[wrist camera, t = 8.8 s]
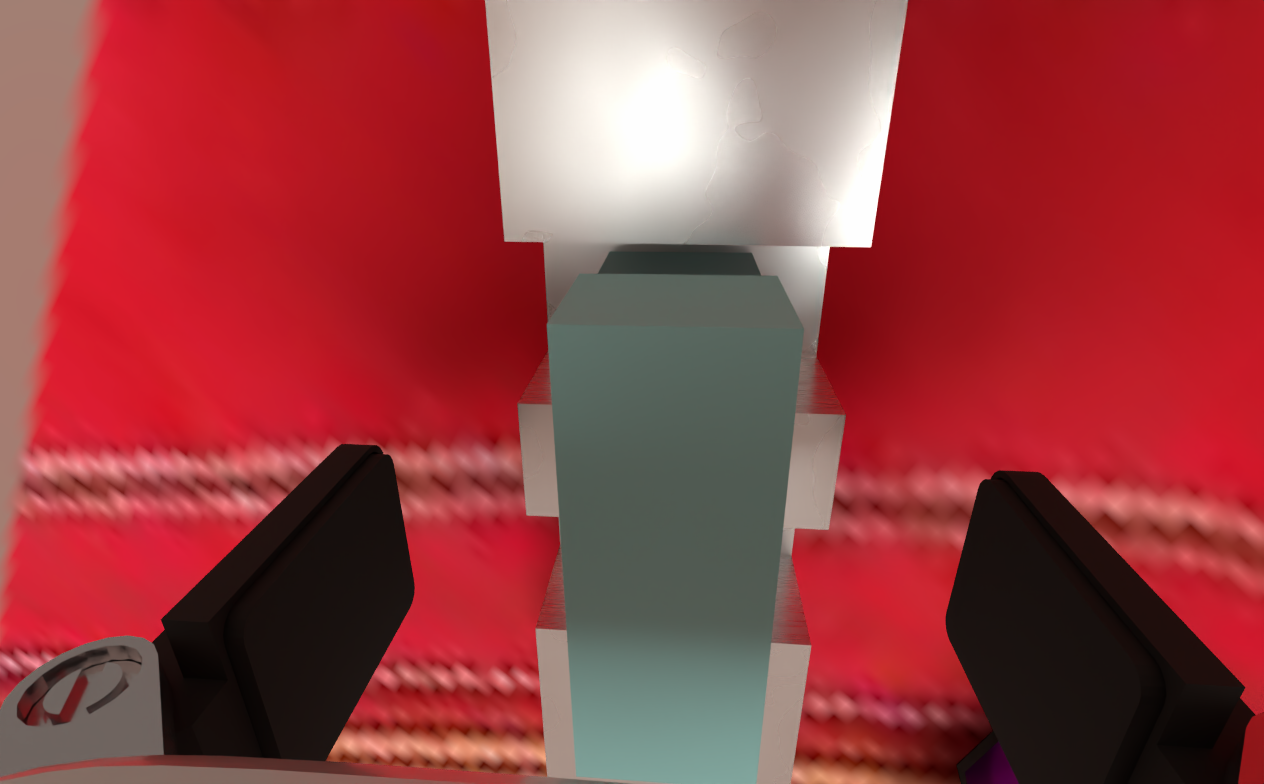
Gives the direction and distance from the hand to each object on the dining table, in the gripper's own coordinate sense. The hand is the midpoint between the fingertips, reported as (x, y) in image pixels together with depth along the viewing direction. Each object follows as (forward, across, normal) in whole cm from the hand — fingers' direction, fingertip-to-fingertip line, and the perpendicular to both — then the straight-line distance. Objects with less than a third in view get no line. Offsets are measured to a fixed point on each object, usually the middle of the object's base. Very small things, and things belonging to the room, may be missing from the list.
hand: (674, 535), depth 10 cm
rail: (+6, 0, 0) cm, 6 cm away
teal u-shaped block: (+5, 0, 0) cm, 5 cm away
